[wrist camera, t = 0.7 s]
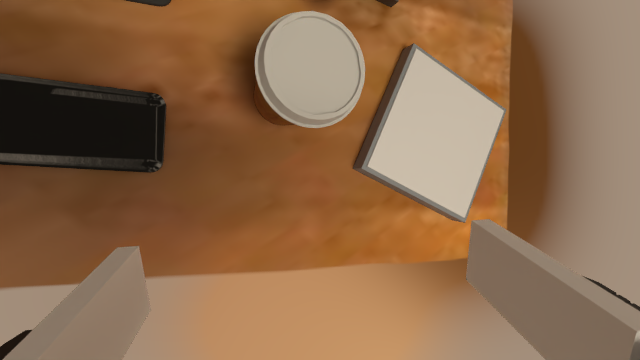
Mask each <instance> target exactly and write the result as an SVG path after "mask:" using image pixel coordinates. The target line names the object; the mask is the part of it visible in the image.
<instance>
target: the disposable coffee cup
mask: <svg viewBox="0 0 640 360" xmlns="http://www.w3.org/2000/svg"><path fill="white" fill-rule="evenodd" d="M255 75H256V83H255V89H254V101H255V105H256V107H257V109H258V111H259V113H260V114H261V115H262V116H263V117H264V118H265V119H266V120H268V121H269V122H271V123H273V124H277V125H299V126H303V127H307V128H320V127H327V126H330V125H332V124H335V123H337V122H339V121H341V120H342V119H343V118H344V117H346V116H347V115H348V114H349V113H350V112H351V110H352V109H353V108H354V107H355V105H356V103H357V101H358V99H359V97H360V94H361V91H362V88H363V84H364V79H365V64H364V58H363V54H362V51H361V49H360V46H359V44H358V42H357V41H356V39H355V37H354V36H353V34H352V33H351V32H350V31H349V30H348V29H347V28H346V27H345V26H344V25H343V24H342V23H341V22H340V21H338V20H336V19H334V18H333V17H331V16H329V15H327V14H323V13H319V12H315V11H305V12H297V13H291V14H288V15H285V16H282V17H281V18H279V19H278V20H276V21H275V22H273V23H272V24H271V25H270V26H269V27H268V28H267V29H266V31H265V32H264V34H263V35H262V37H261V39H260V41H259V44H258V46H257V49H256V54H255Z"/></svg>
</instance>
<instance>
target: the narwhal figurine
mask: <svg viewBox="0 0 640 360" xmlns="http://www.w3.org/2000/svg"><path fill="white" fill-rule="evenodd" d="M377 1H379V2H381V3H383V4H385V5H387V6H390V7H392V6H393V5H395V4H396V3H397V2H398V0H377Z"/></svg>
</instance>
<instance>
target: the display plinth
mask: <svg viewBox="0 0 640 360" xmlns="http://www.w3.org/2000/svg"><path fill="white" fill-rule="evenodd" d="M505 112H506V109H505V108H503V107H502V106H500V105H499V104H498V103H496V102H495V101H493V100H492V99H491V98H489V97H488V96H487V95H485V94H484V93H482V92H481V91H480V90H478V89H477V88H475V87H474V86H473V85H471V84H470V83H468V82H467V81H466V80H464V79H463V78H461V77H460V76H459V75H457V74H456V73H454V72H453V71H452V70H450V69H449V68H448V67H446V66H445V65H443V64H442V63H441V62H439V61H438V60H436V59H435V58H434V57H432V56H431V55H429V54H428V53H427V52H425V51H424V50H422V49H421V48H420V47H418V46H417V45H416V44H414V43H413V44H412V45H410V46H408V47H407V48H405V49H403V51H402V53H401V56H400V58H399V60H398V63H397V65H396V67H395V70H394V72H393V75H392V77H391V79H390V82H389V84H388V86H387V89H386V91H385V94H384V96H383V98H382V101H381V103H380V105H379V108H378V110H377V113H376V115H375V117H374V120H373V122H372V124H371V127H370V129H369V131H368V134H367V136H366V139H365V141H364V143H363V146H362V148H361V150H360V153H359V155H358V158H357V160H356V162H355V165H354V167H353V169H354V170H356V171H358V172H360V173H362V174H364V175H366V176H368V177H370V178H372V179H374V180H376V181H378V182H380V183H382V184H383V185H385V186H387V187H389V188H391V189H393V190H395V191H397V192H399V193H401V194H403V195H405V196H407V197H409V198H410V199H412V200H414V201H416V202H418V203H420V204H422V205H424V206H426V207H428V208H430V209H432V210H434V211H436V212H437V213H439V214H441V215H443V216H445V217H447V218H449V219H451V220H454V221H459V222H464V223H465V221H466V218H467V216H468V213H469V210H470V208H471V205H472V202H473V199H474V197H475V194H476V191H477V188H478V186H479V183H480V180H481V178H482V175H483V172H484V169H485V167H486V164H487V161H488V159H489V156H490V153H491V150H492V148H493V145H494V142H495V139H496V137H497V134H498V131H499V129H500V126H501V123H502V120H503V118H504V115H505Z"/></svg>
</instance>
